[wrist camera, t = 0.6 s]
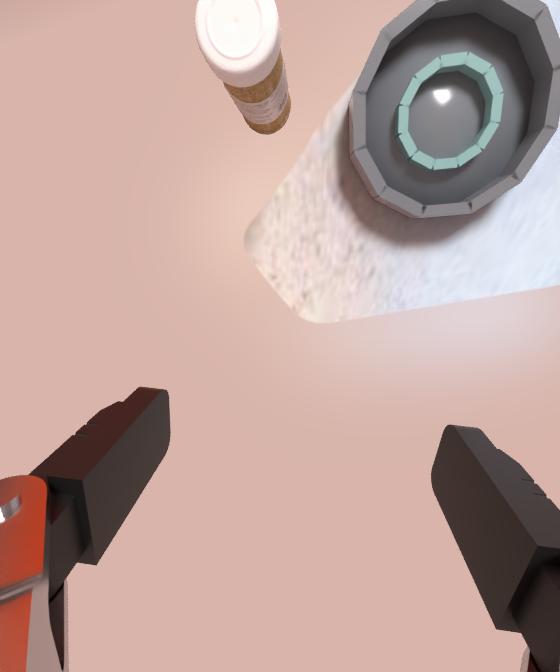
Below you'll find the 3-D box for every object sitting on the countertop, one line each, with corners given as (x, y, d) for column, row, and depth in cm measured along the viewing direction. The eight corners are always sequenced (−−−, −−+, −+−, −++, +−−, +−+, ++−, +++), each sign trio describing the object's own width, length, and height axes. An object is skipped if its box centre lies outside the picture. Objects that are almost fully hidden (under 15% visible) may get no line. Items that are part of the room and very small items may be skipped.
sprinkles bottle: (257, 66, 28) (217, -59, 16) (301, 97, 29) (295, -1, 16) (233, 118, 30) (178, 42, 17) (274, 146, 30) (250, 93, 18)
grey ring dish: (491, -49, 25) (514, -83, 22) (566, 144, 28) (595, 135, 26) (315, 98, 29) (316, 84, 26) (401, 249, 32) (410, 252, 30)
